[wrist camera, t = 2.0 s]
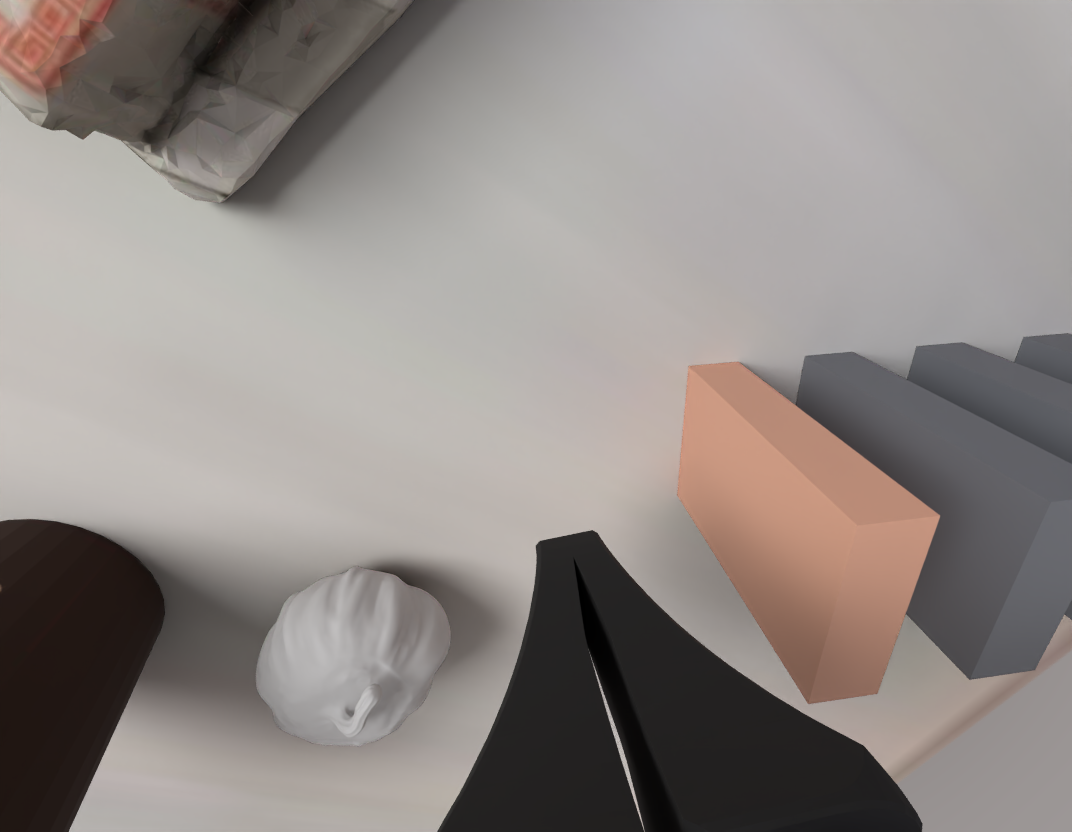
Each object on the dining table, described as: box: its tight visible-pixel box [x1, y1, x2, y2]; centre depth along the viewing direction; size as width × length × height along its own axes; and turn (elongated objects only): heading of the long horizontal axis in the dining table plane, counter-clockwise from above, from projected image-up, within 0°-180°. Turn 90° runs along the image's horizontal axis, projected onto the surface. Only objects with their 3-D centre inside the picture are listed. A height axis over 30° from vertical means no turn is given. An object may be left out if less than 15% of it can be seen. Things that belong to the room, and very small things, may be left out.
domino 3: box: [907, 343, 1072, 620], centre depth 15 cm, size 2×5×8 cm, turn 2°
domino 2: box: [796, 352, 1072, 680], centre depth 15 cm, size 2×5×8 cm, turn 2°
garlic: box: [256, 566, 451, 747], centre depth 17 cm, size 6×5×5 cm
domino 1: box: [677, 362, 940, 704], centre depth 14 cm, size 2×5×8 cm, turn 2°
